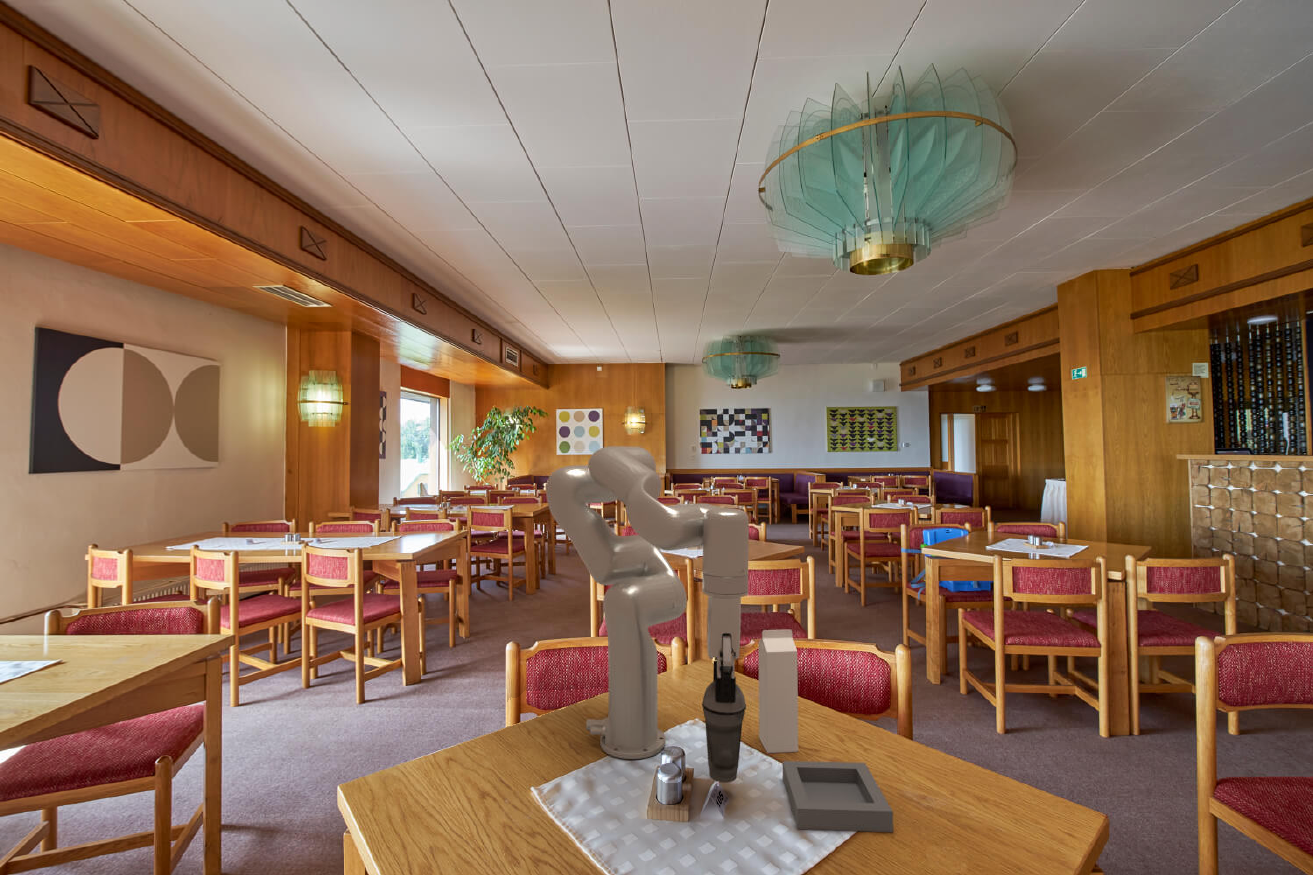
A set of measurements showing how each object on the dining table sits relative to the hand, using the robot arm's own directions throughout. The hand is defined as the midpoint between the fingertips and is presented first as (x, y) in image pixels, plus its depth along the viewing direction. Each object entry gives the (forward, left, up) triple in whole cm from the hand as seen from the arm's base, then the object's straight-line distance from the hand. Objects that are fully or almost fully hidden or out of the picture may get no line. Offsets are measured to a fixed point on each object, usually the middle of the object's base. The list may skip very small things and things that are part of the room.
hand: (724, 692), depth 99 cm
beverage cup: (0, 0, -14) cm, 14 cm away
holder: (+17, -1, -17) cm, 24 cm away
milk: (+11, +18, -17) cm, 27 cm away
